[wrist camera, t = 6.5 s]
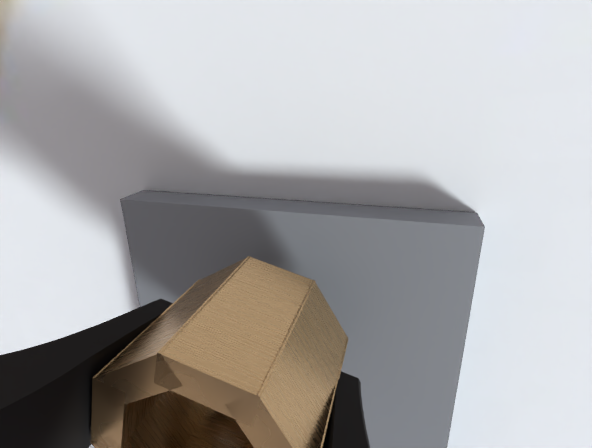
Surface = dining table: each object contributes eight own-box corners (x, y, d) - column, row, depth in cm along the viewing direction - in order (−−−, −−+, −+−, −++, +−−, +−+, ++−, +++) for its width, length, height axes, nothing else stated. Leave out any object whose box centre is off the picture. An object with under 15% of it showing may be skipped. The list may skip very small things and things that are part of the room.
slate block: (420, 561, 20) (421, 595, 19) (191, 492, 24) (178, 517, 22) (476, 212, 13) (484, 227, 12) (143, 190, 17) (120, 199, 16)
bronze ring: (244, 409, 15) (173, 549, 10) (166, 294, 14) (52, 393, 10) (371, 376, 13) (352, 536, 8) (289, 236, 12) (215, 329, 7)
